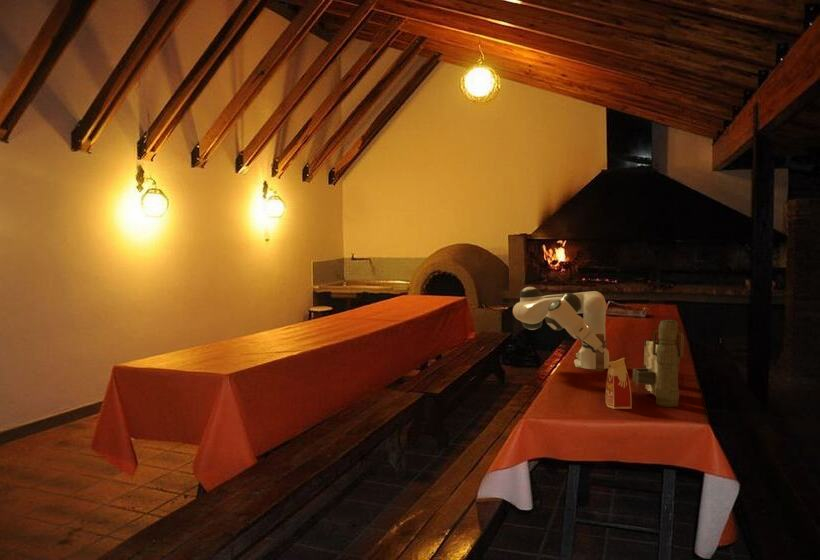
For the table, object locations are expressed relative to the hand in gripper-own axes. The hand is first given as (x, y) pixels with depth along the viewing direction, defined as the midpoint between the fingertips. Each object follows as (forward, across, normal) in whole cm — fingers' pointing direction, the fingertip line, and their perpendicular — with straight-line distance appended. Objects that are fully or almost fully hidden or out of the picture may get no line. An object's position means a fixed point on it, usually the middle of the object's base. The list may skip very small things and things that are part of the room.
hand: (601, 350), depth 285 cm
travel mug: (+33, -13, +6) cm, 36 cm away
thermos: (+28, +22, +1) cm, 35 cm away
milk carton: (+13, +23, -13) cm, 29 cm away
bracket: (+25, +6, -1) cm, 26 cm away
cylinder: (+6, 0, -7) cm, 9 cm away
